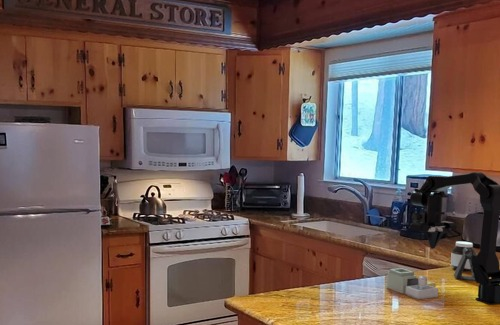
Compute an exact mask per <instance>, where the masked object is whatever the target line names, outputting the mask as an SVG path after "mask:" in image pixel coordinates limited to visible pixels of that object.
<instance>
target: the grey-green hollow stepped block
mask: <svg viewBox="0 0 500 325" xmlns="http://www.w3.org/2000/svg"><path fill="white" fill-rule="evenodd" d="M386 277H387V282H386V283H387V284H386V288H387V289H389V290H392V291H395V292H397V293H400V294H406V286H413V285H418V277H417V275H415V272H414V271H411V270H409V269H405V268H401V267H400V268H390V269H389V271H387V276H386Z"/></svg>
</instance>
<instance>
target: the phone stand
mask: <svg viewBox="0 0 500 325" xmlns="http://www.w3.org/2000/svg"><path fill="white" fill-rule="evenodd" d="M468 249H469V248H468ZM469 250H470V249H469ZM467 251H468V250H467V249H466V248H464V249H463V255H462V258H461V260H460V262H459V264H458V266H457V269H455V271H454V273H453V276H454V278H455V280H460V281H471V282H472V281H474V282H476V279H475V275H474V273H473V271H472V267H471V265H472V256H473V252H472V251H471V250H470V253H469V254H467V255H466V252H467ZM467 259H469V263H470V267H471V271H470V272H471V276H469V275H463V273H464V271H463V270H464V267H465V264H466V261H467Z"/></svg>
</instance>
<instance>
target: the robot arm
mask: <svg viewBox="0 0 500 325" xmlns="http://www.w3.org/2000/svg"><path fill="white" fill-rule="evenodd" d="M465 185H466V186H467V185H472V187H473V189H474V191H475V192H476V193H477V194H478V195H479V203H480V205H481V207H482V209H483V216H482V223H481V225H482V226H481V234H480V235H481V236H480V244H479V251H478V253H476V255H473V256H472V265H471V267H472V271H473V273H474V275H475V279H476V281H475V283H477V284H478V285H477V287H478V288H477V297H475V300H477V301H479V302H482V303H484V304H489V305H498V304H500V261H499V258H498V256H497V252H496V251H497V243H498V242H497V241H498V231H499V222H500V220H499V219H500V183H498V182H496V181H495V180H494V179H491V178H489V177H488V176H487V174H485V173H483V172H481V171H479V172H478V171H472V172H470V173H469V172H468V173H461V174H455V175H447V176H445V175H429V176H427V177H426V179H425V181H424V183H423V184H422V186H421V187H420V188H417V187H416V188H414V191H412V193H411V194H410V196H409V200H410V203H411V204H412V205H413V206H419V207H424V208H426V209H424V210H423V213H422V214H419V212H412V214H411V221H412V223H410V230H411V231H415V232H421V233H424V234H425V235H426V238H427V241H428V244H429V247H430V249H432V250H434V249H435V248H436V246H437V245H438V243H439V241H440V239H441V238H442V237H443V235H444V234H446V231H445V230H443V229H448V230H450V231H457V224H456V223H455V222H452V221H447V220H443V215H445V211H444V210H443V205H444V204H443V203H444V199H447V198H449V195H447V194H446V192H445V191H446V190H448V189H450V188H451V187H459V186H465Z"/></svg>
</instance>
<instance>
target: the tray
mask: <svg viewBox="0 0 500 325" xmlns="http://www.w3.org/2000/svg"><path fill="white" fill-rule="evenodd" d="M417 288H418V285H413V286H406V293H405V296H408V297H410V298H413V299H415V300H424V299H425V300H426V299H434V298H438V296H439V288H438V287H432V286H429V285H427V289H424V290H417Z"/></svg>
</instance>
